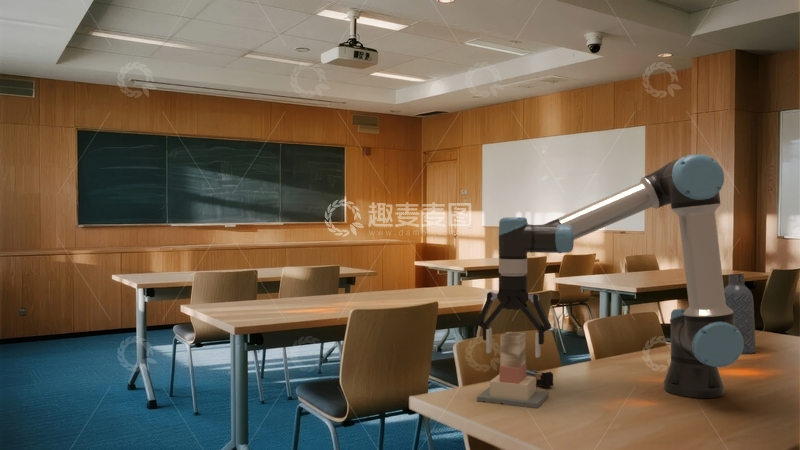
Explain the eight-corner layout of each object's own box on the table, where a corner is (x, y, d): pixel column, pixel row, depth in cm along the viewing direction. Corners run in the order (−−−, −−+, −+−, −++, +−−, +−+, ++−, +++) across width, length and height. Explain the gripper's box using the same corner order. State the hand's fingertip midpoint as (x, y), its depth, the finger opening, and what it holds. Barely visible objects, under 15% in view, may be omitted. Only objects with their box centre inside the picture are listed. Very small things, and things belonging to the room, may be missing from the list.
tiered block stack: (548, 396, 172) (548, 362, 172) (537, 408, 160) (537, 372, 160) (491, 389, 179) (491, 357, 179) (477, 401, 167) (477, 366, 167)
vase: (762, 354, 229) (762, 276, 229) (728, 354, 229) (728, 276, 229) (744, 348, 241) (744, 273, 241) (712, 348, 241) (712, 273, 241)
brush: (518, 362, 194) (557, 371, 182) (518, 377, 194) (557, 387, 182) (505, 365, 190) (543, 374, 178) (505, 380, 190) (543, 390, 178)
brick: (525, 362, 172) (525, 333, 172) (519, 367, 165) (519, 337, 165) (507, 360, 174) (507, 331, 174) (500, 365, 168) (500, 335, 168)
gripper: (562, 275, 168) (562, 355, 168) (473, 272, 178) (473, 348, 178) (556, 277, 161) (557, 361, 161) (464, 274, 172) (464, 353, 171)
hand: (513, 354), depth 170 cm, fingers open, 13 cm apart
